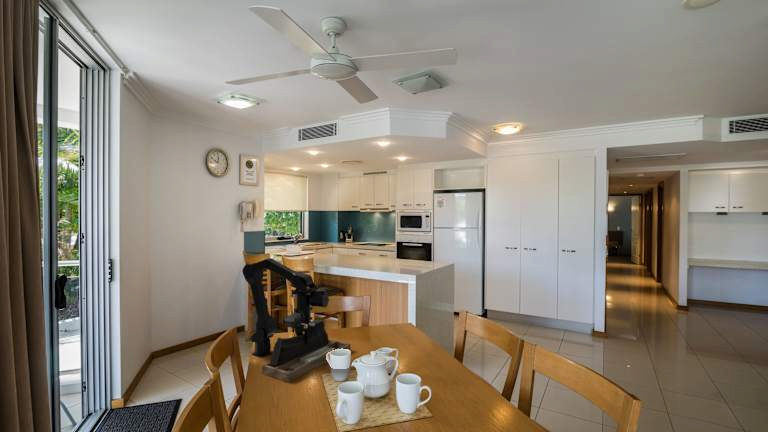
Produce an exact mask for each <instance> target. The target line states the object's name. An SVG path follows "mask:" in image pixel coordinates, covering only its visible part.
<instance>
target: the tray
mask: <svg viewBox="0 0 768 432" xmlns="http://www.w3.org/2000/svg"><path fill="white" fill-rule="evenodd" d="M328 340H329V343H328V344H327V345H324V346H322V347H320V348H318V349H315V350H313V351H311V352H309V353H306V354H304V355H302V356H300V357H298V358H295V359H293V360H291V361H289V362H286V363H283V364H277V365H272V364H270V361H269V362H267V363H265V364H262V365H261V369H262V370H261V374H263V375H265V376H269V377H271V378H273V379H276V380H280V381H283V382H286V383H290V382H293V381H294V380H296V379H298V378H300V377H302V376H304V375H306V374H308V373H310V372H312V371H314V370H316V369H318V368H320V367H321V366H324V365H325V364H328V363H327V360H326V355H325V356H322V357H320V358H318V359H316V360H314V361H312V362H310V363H308V364H306V365H304V366H302V367H300V368H298V369H296V370H293V371H291V372H287V371H288V370H289V367H291V366H293V365H295V364H297V363H299V362H300V359H301V358H303V357H305V356H307V355H309V354H311V353H313V352H315V351H317V350H319V349H321V348H324V347H331V348H335V350H337V348H339V349H341V348H343V349H349V350H350V351H351V343H349V342H348V343H347V342H343V341H339V340H334V339H330V338H328Z"/></svg>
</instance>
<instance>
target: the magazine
mask: <svg viewBox="0 0 768 432" xmlns="http://www.w3.org/2000/svg"><path fill="white" fill-rule="evenodd" d="M276 339H277V340H276V342H275V343H274V346H273V349H272V351H273V353H271V354H272V355H271V358H270V361H269V362H270V364H272V365H277V364H283V363H286V362H289V361H291V360H293V359H295V358H298V357H300V356H302V355H304V354H306V353H309V352H311V351H313V350H315V349H318V348H320V347H322V346H324V345H327V344H328V343H329V340H328V339H329V335H328V333H327V331H326V328H322V329H319V330H317V331H313V333H312V335H311V337H310V339H309V341H308V344H305V333H303V334H302V335H299V336H297V335H296V336H291V337H285V338H282V337H277V338H276Z"/></svg>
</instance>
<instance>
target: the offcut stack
mask: <svg viewBox="0 0 768 432" xmlns="http://www.w3.org/2000/svg"><path fill="white" fill-rule="evenodd" d="M334 349H335V350H336V348H331V347H324V348H321V349H319V350H317V351H315V352H313V353H311V354H309V355H307V356H305V357H303V358H301V359H300V362H299V363H297V364H295V365H293V366H291V367H289V370H288V371H287V372H291V371H293V370H296V369H298V368H300V367H302V366H304V365H306V364H308V363H310V362H312V361H314V360H316V359H318V358H320V357H322V356H325V355H326V354H327V353H328V352H330V351H332V350H334Z"/></svg>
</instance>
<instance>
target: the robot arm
mask: <svg viewBox="0 0 768 432" xmlns="http://www.w3.org/2000/svg"><path fill="white" fill-rule="evenodd" d="M266 270H269V271H270V272H273V274H276V275H278V276H279V277H282V279H285V280H287V281H288V282H289V283H290V285H291V286H292V287H294V290H293V291H292V292H291V295H293V296H294V295H295V296H296V302H295V303H296V307H295V308H294V309H293V313H291V314H289V315H286V316H284V317H283V318H282V324H283V325H286V328H290V329H293V330H294V332H295V335H296V336H299V335H302V334H305V344H308V341H309V339H310V337H311V335H312V333H313V331H317V330H319V329H322V328H325V327H326V326H325V325H326V324H325V321H324V320H321V319H315V320H313V316H311V311H312V310H313V307H315V308H327V307H328V305H329V301H330V296H329V294H328V293H327V290H326V289H322V290H321V289H320V290H319V289H318V286H317V285H316V283H315V282H314V280H313V276H312V275H310V274H308V273H305V272H300V271H295V270H293V269H292V268H291V267H290V268H289V267H288V266H286V265H284V264H282V263H280V262H279V261H276V260H275V259H274V258H271V257H270V258H264V259H262V260H261V261H257V262H252V263H247V264H245V265H244V266H243V268H242V270H241V271H242V274H243V278H244V280H245V282H247V283H248V285H249V287H250V291H251V295H252V299H253V303H254V308H255V313H256V316H257V319H256V322H255V330H256V331H255V332H254V333H253V334H252V335H251V336H250V340H251V342H252V343H254V352H252V353H251V355H252V356H255V357H258V358H263V357H266V356H268V355H271V354H272V353H273V350H271V349H272V346H271V345H272V344H271V339H272V338H273V337H274V334H275V333H276V331H277V329H278V323H277V319H276V316H271V314H270V311H269V307H268V303H267V300H266V299H267V298H266V295H265V290H264V285H263V279H264V278H263V277H264V271H266ZM325 329H326V328H325Z"/></svg>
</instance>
